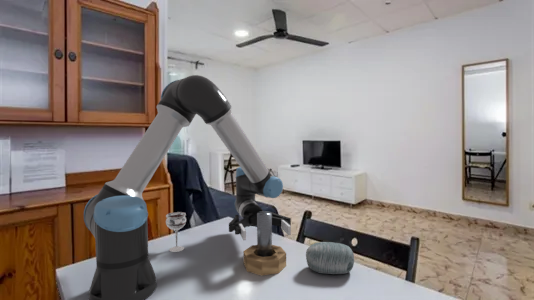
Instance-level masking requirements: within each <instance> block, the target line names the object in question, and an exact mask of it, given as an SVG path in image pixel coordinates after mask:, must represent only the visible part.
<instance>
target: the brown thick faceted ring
mask: <svg viewBox="0 0 534 300" xmlns="http://www.w3.org/2000/svg"><path fill="white" fill-rule="evenodd" d="M243 265H244V268H245V269H246V272H247V273H252V274H255V275H258V276H261V277H263V276H268V275H276V274H280V272H281V271H283V270H284V269H285V268H286V267H287V252H286V251H285V250H284V249H283V248H282V246H280V245H274V244H272V256H268V257H261V256H257V244H255V245H253V244H252V245H250V246H249V247H247V248H245V250H243Z"/></svg>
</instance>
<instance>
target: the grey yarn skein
mask: <svg viewBox="0 0 534 300" xmlns="http://www.w3.org/2000/svg"><path fill="white" fill-rule="evenodd" d="M305 257H306V258H305V260H306V263H307V267H308V268H309V270H311V271H313V272H315V273H318V274H319V273H320V274H325V275H326V274H327V275H328V274H329V275H345V274H348V273H350V272H351V271H352V270H353V267H354V265H355V255H354V251H353V250H352V248H351V247H350V246H349V245H346V244H344V243H340V242H332V241H320V242H315V243H312V244H310V245H309V247H308V248H307V249H306V252H305Z"/></svg>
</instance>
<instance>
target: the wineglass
mask: <svg viewBox="0 0 534 300" xmlns="http://www.w3.org/2000/svg"><path fill="white" fill-rule="evenodd" d="M186 216H187V214H186V212H182V211H177V212H169V213H167V214H166V215H165V218H166V219H165V225H166V227H167V228H169V229H170V230H171V231H174V234H175V236H174V237H175V246H171V247H170V248H169V249H168V251H170V252H171V253H176V252H177V253H178V252H182V251H183V250H184V249H185V246H183V245H182V246H181V245H178V232H179V231H180V229H182V228H184V226H185V225H186V223H187V217H186Z"/></svg>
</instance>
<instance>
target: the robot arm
mask: <svg viewBox="0 0 534 300" xmlns="http://www.w3.org/2000/svg"><path fill="white" fill-rule="evenodd" d="M156 109H157V110H156V111H157V114H156V116H155V117H154V119H153V120H152V122H151V124H150V125H149V126H148V128H147V130H146V131H145V132H144V134H143V136H142V137H141V138H140V140H139V142H138V144H137V145H136V147H134V149H133V151H132V152H131V154H130V155H129V156H128V158H127V159H126V162H125V163H124V165H122V168H121V169H120V171H119V172H118V173H117V175H116V177H115V178H114V179H113V180H110V181H107V182H105V183H104V185H103V186H102V188H100V190H99V192H98V193H97V194H95V195H94V196H93V197H91V198H90V199H89V200H88V202H87V203H86V205H85V206H84V210H83V222H84V224H85V227H86V228H87V230H88V231H90V233H91V234H92V236H93V237H94V239H95V240H94V241H95V257H96V258H95V260H96V262H95V263H96V267H95V271H94V274H93V277H92V280H91V283H90V286H89V291H88V297H89V298H88V300H146V299H147V298H149V297H150V296H151V295H152V294H153V293H154V292H155V290H156V288H157V276H156V273H155V270H154V268H153V266H152V262H151V260H150V258H149V236H148V235H149V233H148V230H149V229H148V226H149V225H148V219H149V217H148V216H149V211H148V207H147V203H146V201H145V200H144V197H143V192H144V191H145V189H146V187H147V186H148V184H149V182H150V181H151V179H152V178H153V176H154V175H155V172H156V171H157V169H158V168H159V166H160V165H161V163H162V162H163V160H164V158H165V156H166V155H167V153H168V152H169V150H170V149H171V147H172V145H173V143H174V141H175V140H176V138H177V137H178V135H179V134H180V132H181V130H182V129H183V128H186V127H189V126H190V125H191V123H192V122H193V119H194V118H195V117H196V115H198V116H199V117H200V118H201V119H202V120H203V122H204V124H205V125H210V126H211V128H212V129H213V131H214V132H215V133H216V135H218V138H219V139H220V141H222V143H223V144H224V146H225V148H226V149H227V150H228V151H229V153H230V154H231V156H232V157H233V159H234V160H235V162H236V163H237V164H238V167H237V168H236V170H235V200H234V209H235V211H236V212H237V213H238V214H235V215H234V217H233V219H232V220H231V221H230V222H228V232H229V233H232V232H234V234H235V235H236V236H237V235H240V237H241V238H242V240H243V241H246V240H247V230H246V228H248V227H257V213H258V212H260V211H264V210H263V209H262V207H261V206H259V204H258V203H257V202H256V195H258V196H261V197H265V198H269V199H276V198H278V197H280V196H281V194H282V192H283V189H284V184H283V181H282V180H281V178H280V177H277V176H275V175H272V173H271V172H270V170H269V169H268V168H267V166H266V164H265V162H264V161H263V160H262V158H261V156H260V155H259V153H258V152H257V150H256V148H255V147H254V145H253V144H252V141H250V139H249V137H248V136H247V134H246V133H245V132H244V130H243V128H242V127H241V125H240V123H239V121H237V118H236V117H235V115H234V114H233V113H232V109H233V107H232V105H231V103H230V101H229V100H228V99H227V97H226V96H225V94H224V93H223V92H222V91H221V90H220V88H219V87H218V86H217V85H216V84H215V83H214V82H213V81H212V80H210V79H209V78H207V77H205V76H202V75H198V74H196V75H194V74H192V75H189V76H186V77H184V78H180V79H176V80H173V81H171V82H169V83H168V84H167V85H166V86H165V87H164V88H163V90H162V91H161V96H160V100H159V102H158V103H157V105H156ZM270 212H271V213H272V226H276V227H280V228H281V230H282V231H283V232H284V233H285V234H286V235H287V236H292V233H291V231H292V230H291V229H292V219H291V218H292V217H288V216H284V215H282V214H278V213H275V212H273V211H270Z"/></svg>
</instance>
